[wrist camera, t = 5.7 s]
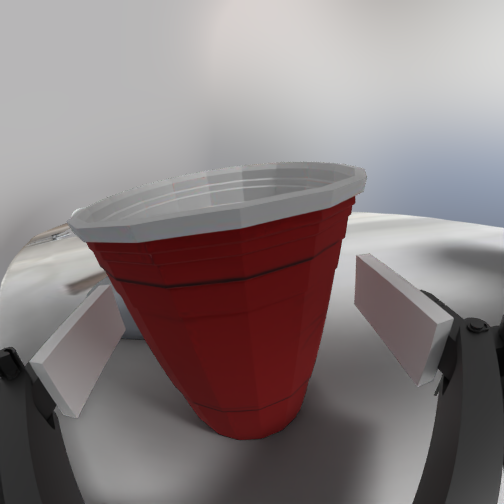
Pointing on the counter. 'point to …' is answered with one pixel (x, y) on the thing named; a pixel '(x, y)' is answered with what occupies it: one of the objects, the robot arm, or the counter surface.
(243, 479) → the counter surface
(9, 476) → the robot arm
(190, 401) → the plastic cup
